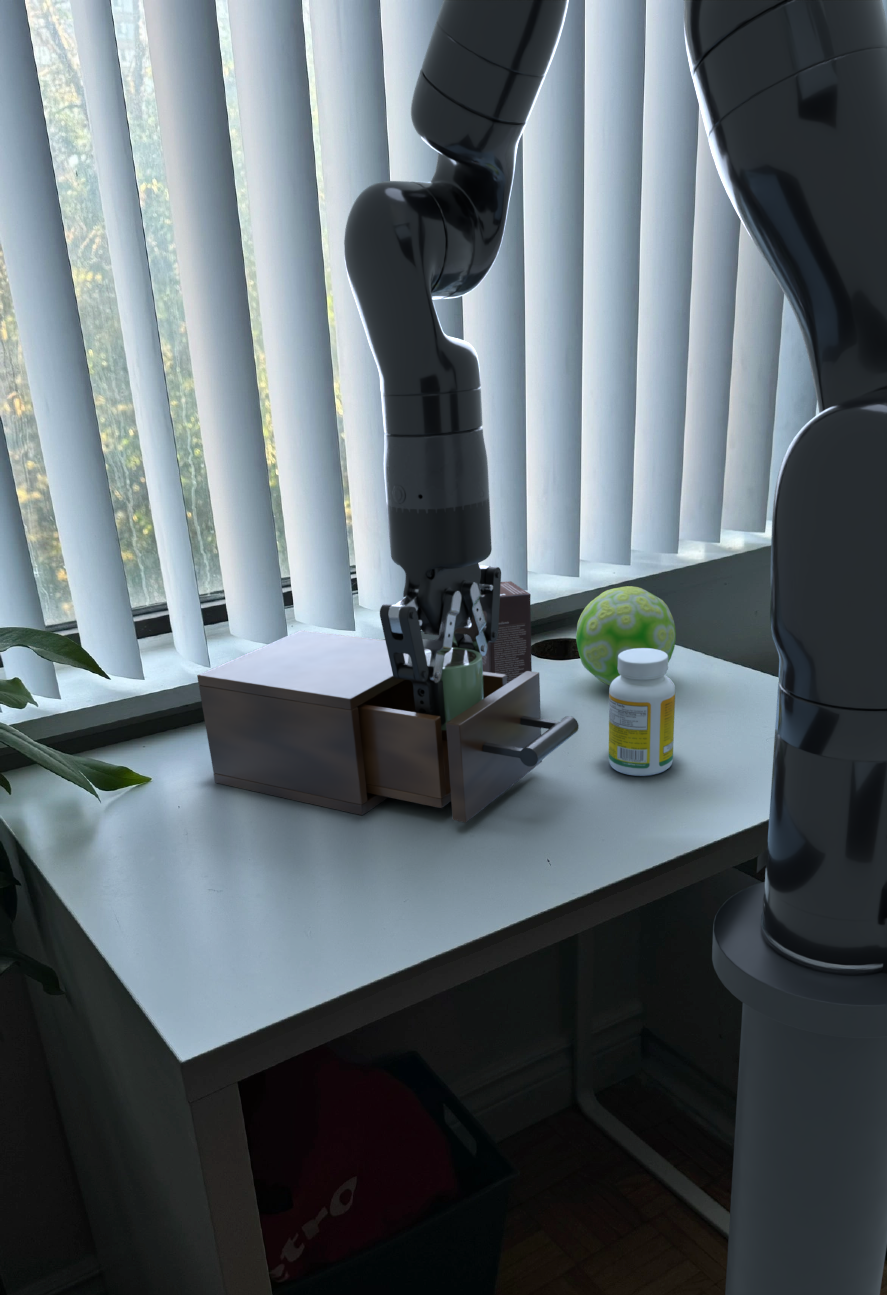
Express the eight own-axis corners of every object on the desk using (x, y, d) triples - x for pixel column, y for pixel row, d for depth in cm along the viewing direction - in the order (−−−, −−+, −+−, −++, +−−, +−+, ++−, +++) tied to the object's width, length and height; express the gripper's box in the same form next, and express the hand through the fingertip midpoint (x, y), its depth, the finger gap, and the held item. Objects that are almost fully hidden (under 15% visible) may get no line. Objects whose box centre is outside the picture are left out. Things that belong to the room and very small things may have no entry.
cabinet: (452, 753, 96) (445, 647, 92) (362, 815, 85) (350, 699, 81) (313, 728, 104) (300, 629, 100) (214, 782, 93) (196, 675, 89)
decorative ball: (556, 686, 110) (554, 589, 106) (626, 663, 115) (626, 570, 111) (626, 709, 103) (626, 607, 99) (697, 684, 108) (700, 585, 104)
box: (536, 717, 103) (532, 592, 98) (490, 724, 102) (484, 598, 97) (516, 697, 108) (512, 578, 103) (473, 703, 107) (466, 584, 102)
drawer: (594, 770, 88) (593, 678, 85) (521, 835, 78) (517, 734, 75) (398, 736, 98) (391, 653, 94) (312, 790, 88) (300, 699, 85)
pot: (497, 711, 86) (494, 651, 84) (463, 734, 82) (459, 672, 80) (440, 702, 89) (436, 644, 87) (404, 724, 85) (399, 664, 83)
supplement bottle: (623, 781, 88) (623, 669, 84) (599, 757, 93) (598, 650, 89) (684, 771, 89) (687, 660, 85) (657, 748, 94) (659, 642, 90)
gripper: (428, 516, 71) (444, 752, 78) (529, 479, 82) (535, 690, 89) (337, 511, 75) (360, 737, 82) (445, 477, 86) (457, 679, 93)
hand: (451, 712), depth 85 cm, fingers closed on pot, 5 cm apart
